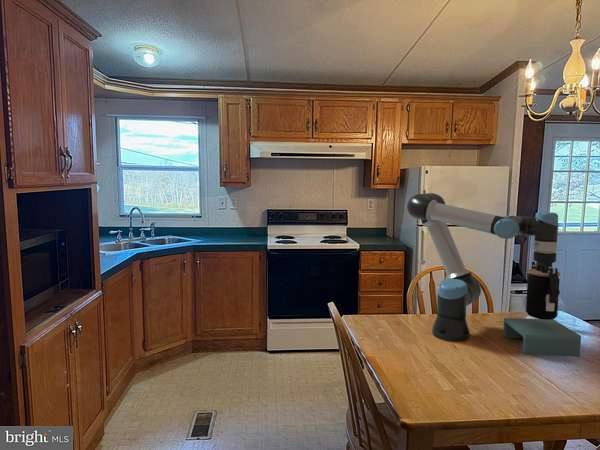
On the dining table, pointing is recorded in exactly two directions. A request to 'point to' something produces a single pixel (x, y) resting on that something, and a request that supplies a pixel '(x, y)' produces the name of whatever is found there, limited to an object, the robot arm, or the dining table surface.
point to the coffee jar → (539, 295)
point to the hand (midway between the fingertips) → (541, 306)
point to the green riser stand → (543, 336)
